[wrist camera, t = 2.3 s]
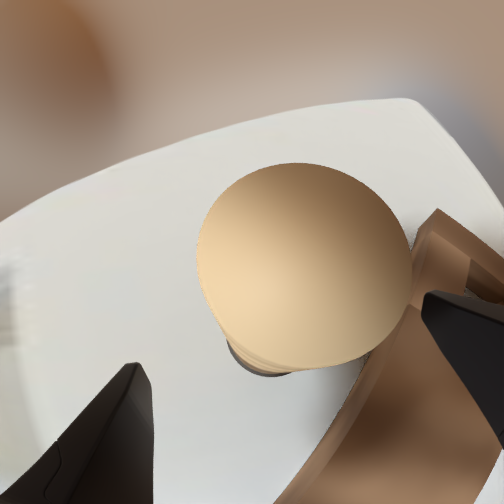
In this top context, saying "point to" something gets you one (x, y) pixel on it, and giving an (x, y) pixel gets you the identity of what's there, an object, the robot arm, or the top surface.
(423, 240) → the walnut board
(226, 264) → the oak peg
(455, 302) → the robot arm
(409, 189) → the top surface
